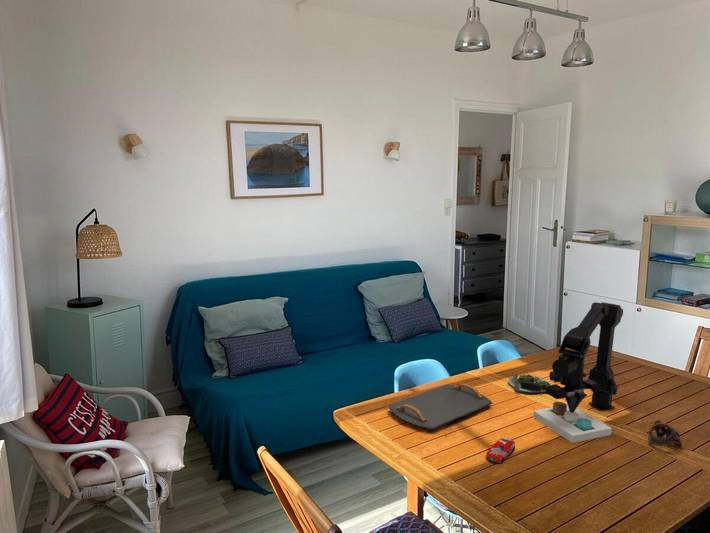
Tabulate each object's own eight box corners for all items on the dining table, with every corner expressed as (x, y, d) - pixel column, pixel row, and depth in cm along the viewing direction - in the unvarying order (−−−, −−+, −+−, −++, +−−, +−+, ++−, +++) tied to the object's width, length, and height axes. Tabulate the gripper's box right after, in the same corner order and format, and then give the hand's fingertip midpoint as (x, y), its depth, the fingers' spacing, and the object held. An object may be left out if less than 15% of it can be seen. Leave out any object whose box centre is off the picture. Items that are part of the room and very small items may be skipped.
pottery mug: (690, 454, 167) (683, 435, 164) (659, 463, 170) (652, 445, 167) (671, 427, 178) (664, 409, 175) (643, 437, 180) (635, 419, 178)
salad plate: (496, 379, 229) (497, 369, 228) (534, 376, 232) (535, 365, 232) (520, 397, 210) (520, 386, 209) (560, 393, 214) (561, 382, 213)
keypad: (569, 410, 197) (569, 404, 197) (611, 435, 179) (611, 428, 178) (533, 417, 192) (533, 410, 192) (572, 443, 173) (572, 435, 173)
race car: (499, 466, 160) (500, 454, 159) (483, 460, 164) (483, 448, 163) (517, 449, 170) (518, 437, 169) (502, 444, 173) (502, 432, 173)
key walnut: (560, 409, 193) (560, 400, 193) (569, 414, 189) (569, 405, 189) (549, 411, 192) (550, 402, 191) (558, 416, 188) (559, 407, 187)
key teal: (584, 426, 182) (584, 417, 182) (594, 432, 178) (594, 423, 178) (573, 428, 181) (573, 419, 180) (583, 434, 177) (583, 425, 176)
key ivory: (571, 418, 188) (572, 410, 187) (581, 424, 184) (581, 415, 183) (561, 420, 186) (561, 412, 186) (570, 426, 182) (570, 417, 182)
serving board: (452, 388, 219) (452, 374, 218) (498, 407, 201) (499, 391, 200) (381, 415, 196) (381, 399, 194) (427, 438, 178) (427, 421, 177)
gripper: (579, 358, 192) (576, 399, 195) (536, 364, 186) (534, 406, 189) (603, 369, 182) (599, 411, 184) (558, 375, 176) (555, 420, 179)
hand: (571, 412), depth 184 cm, fingers closed
